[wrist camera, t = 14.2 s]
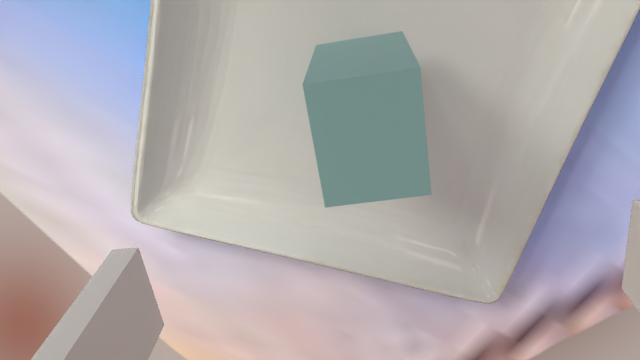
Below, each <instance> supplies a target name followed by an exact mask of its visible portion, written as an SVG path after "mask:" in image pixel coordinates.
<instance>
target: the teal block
mask: <svg viewBox="0 0 640 360" xmlns="http://www.w3.org/2000/svg"><path fill="white" fill-rule="evenodd" d="M302 85H303V90H304V96H305V101H306V107H307V112H308V118H309V123H310V129H311V134H312V139H313V145H314V150H315V156H316V161H317V167H318V172H319V177H320V183H321V188H322V194H323V199H324V205H325V208H326V207H335V206H343V205H351V204H359V203H368V202H376V201H384V200H392V199H401V198H409V197H417V196H425V195H432V193H431V182H430V171H429V159H428V148H427V137H426V126H425V114H424V103H423V92H422V81H421V69H420V65H419V63H418V61H417V59H416V57H415V55H414V53H413V51H412V49H411V47H410V45H409V43H408V42H407V40H406V38H405V36H404V34H403V32H402V31H400V32H394V33H387V34H381V35H375V36H369V37H362V38H356V39H350V40H343V41H337V42H331V43H325V44H318V45H316V47H315V50H314V52H313V55H312V58H311V61H310V64H309V67H308V70H307V73H306V76H305V79H304V81H303V84H302Z"/></svg>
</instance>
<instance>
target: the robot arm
mask: <svg viewBox="0 0 640 360" xmlns="http://www.w3.org/2000/svg"><path fill="white" fill-rule="evenodd" d="M622 290H623V291H624V293H625V294H626V295H627V297H628V298H629V299H630V301H631V302H632V303H633V305H634V306H635V307H636V309H637V310H638V311H639V312H640V200H633V201H632V209H631V217H630V225H629V233H628V241H627V249H626V257H625V265H624V273H623V281H622ZM163 326H164V323H163V320H162V317H161V314H160V311H159V308H158V305H157V302H156V299H155V296H154V293H153V290H152V287H151V284H150V281H149V278H148V275H147V272H146V269H145V266H144V263H143V260H142V257H141V254H140V251H139V248H128V249H117V250H112V251H111V252H110V254H109V255H108V256H107V258H106V259H105V260H104V262H103V263H102V265H101V266H100V267H99V269H98V270H97V271H96V273H95V274H94V275H93V277H92V278H91V279H90V281H89V282H88V283H87V285H86V286H85V288H84V289H83V290H82V292H81V293H80V294H79V296H78V297H77V298H76V300H75V301H74V302H73V304H72V305H71V306H70V308H69V309H68V311H67V312H66V313H65V315H64V316H63V317H62V319H61V320H60V321H59V323H58V324H57V325H56V327H55V328H54V329H53V331H52V332H51V334H50V335H49V336H48V337H47V339H46V340H45V341H44V343H43V344H42V346H41V347H40V348H39V350H38V351H37V352H36V354H35V355H34V357H33V358H32V359H31V360H148V358H149V356H150V354H151V352H152V350H153V348H154V345H155V343H156V341H157V339H158V337H159V335H160V333H161V331H162V328H163Z"/></svg>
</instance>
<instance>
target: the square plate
mask: <svg viewBox="0 0 640 360" xmlns="http://www.w3.org/2000/svg"><path fill="white" fill-rule="evenodd" d="M639 9H640V0H151V5H150V16H149V26H148V38H147V49H146V59H145V69H144V78H143V88H142V98H141V107H140V116H139V125H138V134H137V143H136V152H135V161H134V171H133V182H132V196H131V213H132V216H133V218H134V219H135V220H137V221H139V222H141V223H143V224H147V225H151V226H155V227H159V228H163V229H167V230H171V231H175V232H179V233H183V234H188V235H192V236H197V237H201V238H206V239H210V240H214V241H219V242H223V243H228V244H232V245H236V246H241V247H245V248H249V249H254V250H258V251H262V252H267V253H271V254H275V255H280V256H284V257H288V258H293V259H297V260H301V261H306V262H310V263H314V264H318V265H322V266H327V267H331V268H335V269H339V270H343V271H347V272H352V273H356V274H360V275H364V276H368V277H373V278H377V279H381V280H385V281H389V282H393V283H397V284H401V285H405V286H409V287H413V288H417V289H422V290H426V291H431V292H435V293H439V294H443V295H447V296H452V297H456V298H461V299H465V300H470V301H475V302H480V303H493V302H495V301H497V300H498V299H499V298H500V297H501V295H502V293H503V291H504V290H505V288H506V286H507V283H508V281H509V279H510V278H511V276H512V274H513V272H514V270H515V268H516V265H517V263H518V261H519V259H520V256H521V254H522V252H523V250H524V248H525V246H526V243H527V241H528V239H529V237H530V235H531V232H532V230H533V228H534V226H535V224H536V222H537V220H538V217H539V216H540V213H541V211H542V209H543V207H544V205H545V203H546V200H547V198H548V196H549V194H550V192H551V190H552V188H553V185H554V183H555V181H556V179H557V177H558V175H559V173H560V170H561V168H562V166H563V164H564V162H565V160H566V158H567V156H568V154H569V152H570V150H571V147H572V145H573V143H574V141H575V139H576V137H577V135H578V133H579V131H580V129H581V127H582V125H583V123H584V121H585V119H586V117H587V115H588V113H589V111H590V109H591V106H592V105H593V103H594V101H595V99H596V97H597V95H598V93H599V91H600V88H601V86H602V84H603V82H604V80H605V78H606V76H607V74H608V72H609V70H610V68H611V66H612V64H613V62H614V60H615V58H616V56H617V54H618V52H619V50H620V48H621V46H622V44H623V42H624V40H625V38H626V36H627V34H628V32H629V30H630V28H631V26H632V24H633V22H634V20H635V18H636V16H637V13H638V11H639ZM400 31H402V32H403V34H404V36H405V38H406V40H407V42H408V43H409V45H410V47H411V49H412V51H413V53H414V55H415V57H416V59H417V61H418V63H419V65H420V69H421V81H422V92H423V103H424V114H425V126H426V137H427V148H428V159H429V171H430V182H431V193H432V195H425V196H417V197H409V198H401V199H392V200H384V201H376V202H368V203H359V204H351V205H343V206H335V207H326V208H325V205H324V199H323V194H322V188H321V183H320V177H319V172H318V167H317V161H316V156H315V150H314V145H313V139H312V134H311V129H310V123H309V118H308V112H307V107H306V101H305V96H304V90H303V85H302V84H303V81H304V79H305V76H306V73H307V70H308V67H309V64H310V61H311V58H312V55H313V52H314V50H315V47H316V45H318V44H325V43H331V42H337V41H343V40H350V39H356V38H362V37H369V36H375V35H381V34H387V33H394V32H400Z"/></svg>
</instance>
